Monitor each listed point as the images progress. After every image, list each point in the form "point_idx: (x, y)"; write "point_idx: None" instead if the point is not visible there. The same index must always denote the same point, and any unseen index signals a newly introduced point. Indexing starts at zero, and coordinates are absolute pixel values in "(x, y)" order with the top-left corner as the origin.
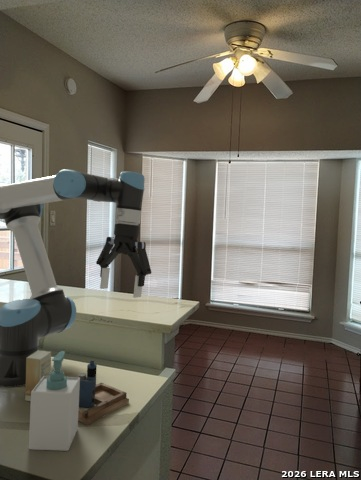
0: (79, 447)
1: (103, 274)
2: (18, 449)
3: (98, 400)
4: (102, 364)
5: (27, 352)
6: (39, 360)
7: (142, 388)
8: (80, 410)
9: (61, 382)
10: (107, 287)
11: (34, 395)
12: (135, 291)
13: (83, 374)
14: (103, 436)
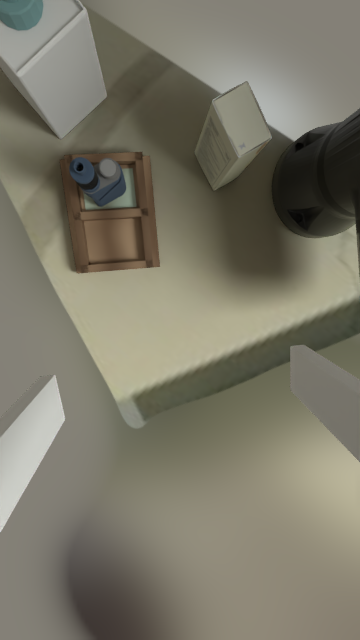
0: (9, 104)
1: (343, 386)
2: None
3: (93, 211)
4: (249, 349)
5: (320, 161)
6: (212, 100)
7: (108, 333)
8: (79, 155)
9: None
10: (292, 389)
11: None
12: (27, 391)
13: (107, 170)
14: (11, 158)
